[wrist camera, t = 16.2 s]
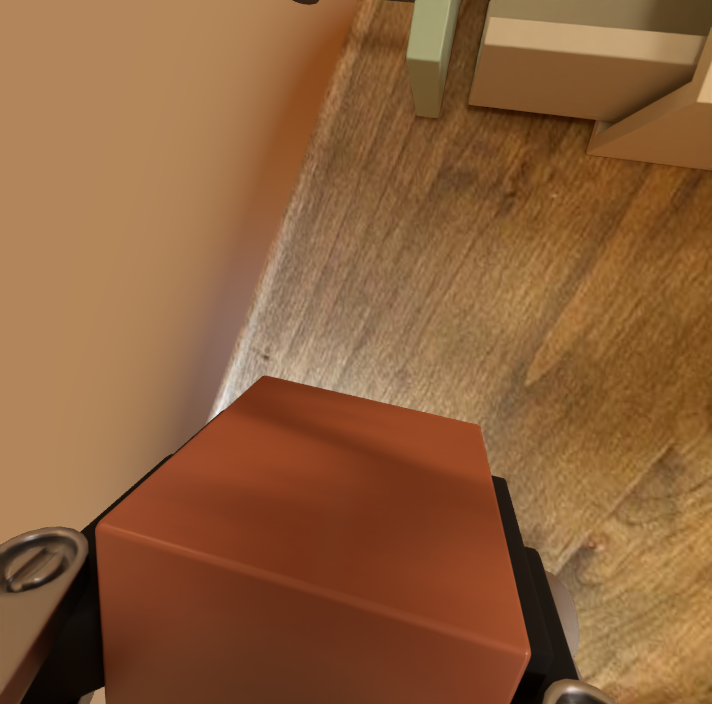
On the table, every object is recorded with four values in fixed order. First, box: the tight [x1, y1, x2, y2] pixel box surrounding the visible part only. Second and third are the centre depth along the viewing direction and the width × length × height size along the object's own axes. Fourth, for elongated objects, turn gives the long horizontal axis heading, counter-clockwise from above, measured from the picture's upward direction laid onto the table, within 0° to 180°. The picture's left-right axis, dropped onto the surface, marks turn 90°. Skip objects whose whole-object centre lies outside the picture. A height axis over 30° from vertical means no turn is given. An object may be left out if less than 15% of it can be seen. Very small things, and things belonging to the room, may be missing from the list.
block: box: [95, 376, 531, 704], centre depth 8 cm, size 5×5×5 cm
